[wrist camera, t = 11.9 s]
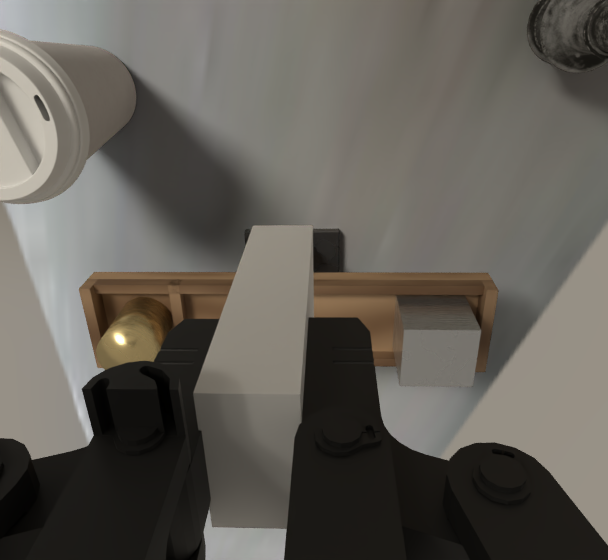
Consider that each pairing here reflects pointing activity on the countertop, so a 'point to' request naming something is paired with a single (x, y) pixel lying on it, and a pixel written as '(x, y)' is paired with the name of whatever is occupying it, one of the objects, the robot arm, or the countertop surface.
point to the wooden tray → (327, 299)
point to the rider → (435, 340)
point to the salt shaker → (570, 33)
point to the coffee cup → (55, 113)
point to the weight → (135, 333)
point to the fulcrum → (322, 250)
